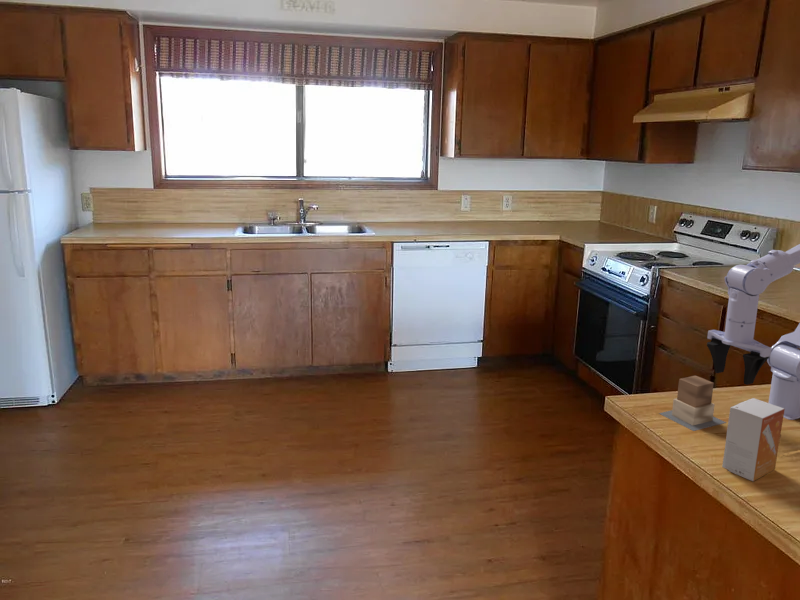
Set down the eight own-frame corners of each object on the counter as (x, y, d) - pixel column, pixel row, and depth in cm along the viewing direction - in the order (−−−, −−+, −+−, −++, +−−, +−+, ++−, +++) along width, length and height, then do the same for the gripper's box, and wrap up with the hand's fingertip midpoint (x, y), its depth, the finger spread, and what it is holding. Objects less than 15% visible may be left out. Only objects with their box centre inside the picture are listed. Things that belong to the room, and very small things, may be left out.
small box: (753, 482, 119) (762, 418, 115) (721, 468, 124) (729, 406, 121) (776, 470, 123) (785, 407, 120) (743, 457, 128) (752, 396, 125)
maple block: (691, 410, 149) (692, 394, 148) (712, 420, 143) (714, 404, 142) (671, 415, 146) (673, 398, 146) (692, 425, 141) (694, 408, 140)
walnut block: (693, 395, 147) (695, 375, 146) (711, 403, 143) (713, 382, 142) (677, 399, 145) (679, 378, 144) (694, 407, 141) (697, 386, 140)
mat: (690, 407, 151) (690, 405, 151) (726, 424, 143) (726, 422, 142) (658, 414, 148) (658, 413, 148) (693, 432, 139) (693, 430, 139)
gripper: (700, 313, 145) (694, 369, 148) (757, 330, 132) (749, 391, 135) (722, 310, 147) (716, 365, 151) (781, 326, 134) (772, 386, 138)
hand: (733, 377), depth 143 cm, fingers open, 7 cm apart
